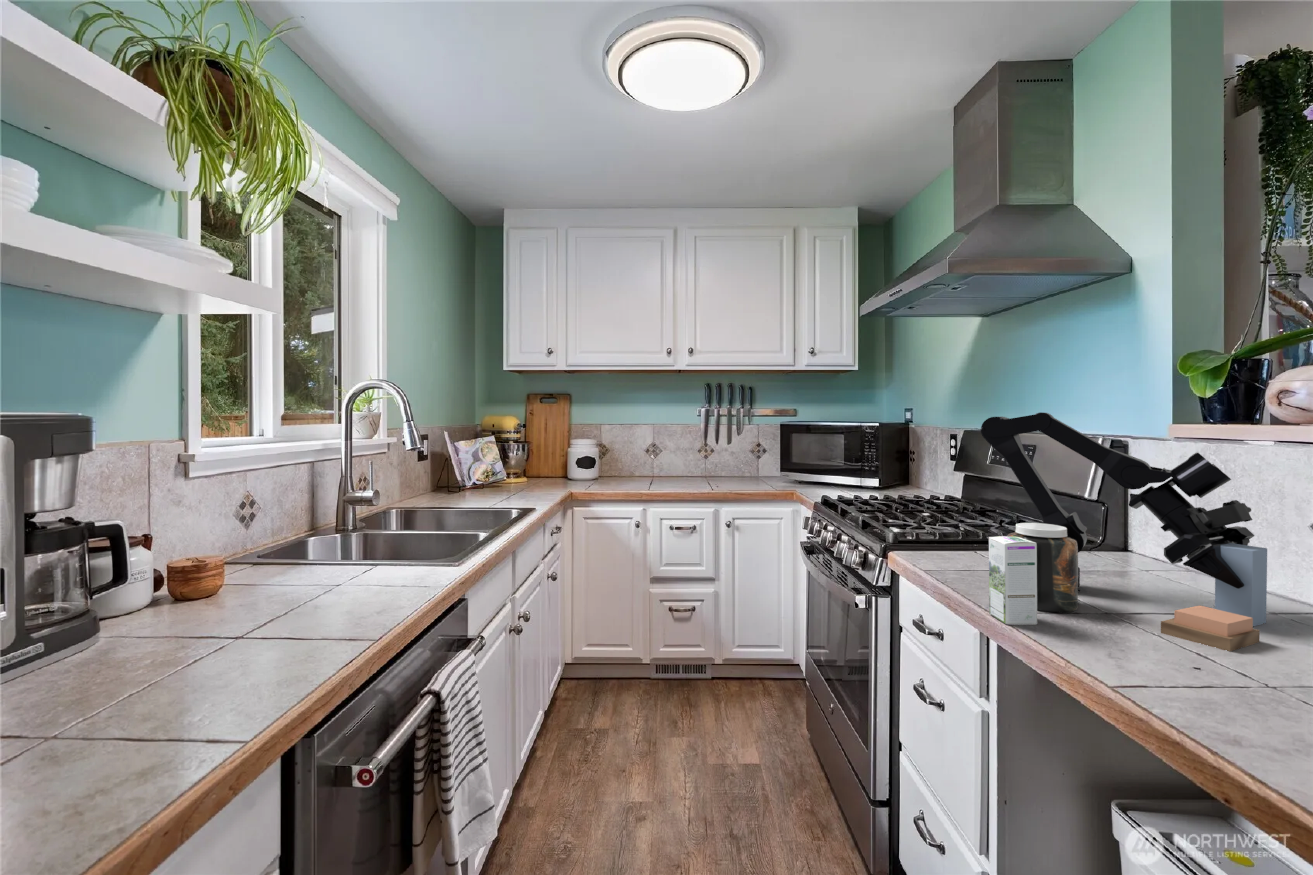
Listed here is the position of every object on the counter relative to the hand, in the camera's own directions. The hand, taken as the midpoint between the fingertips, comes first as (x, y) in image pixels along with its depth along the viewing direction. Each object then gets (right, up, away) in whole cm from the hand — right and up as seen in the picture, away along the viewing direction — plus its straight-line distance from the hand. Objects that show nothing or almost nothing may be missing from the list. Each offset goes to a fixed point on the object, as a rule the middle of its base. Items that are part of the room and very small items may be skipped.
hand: (1251, 585), depth 105 cm
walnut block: (-13, -8, -6) cm, 16 cm away
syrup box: (-39, -7, +3) cm, 40 cm away
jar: (-29, -7, +13) cm, 32 cm away
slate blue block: (0, -7, +1) cm, 7 cm away
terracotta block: (-13, -5, -7) cm, 15 cm away
